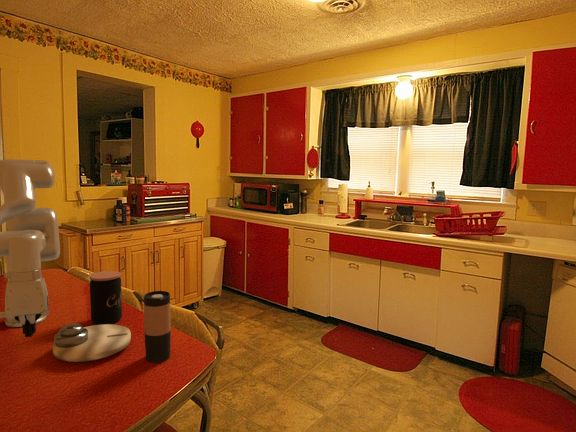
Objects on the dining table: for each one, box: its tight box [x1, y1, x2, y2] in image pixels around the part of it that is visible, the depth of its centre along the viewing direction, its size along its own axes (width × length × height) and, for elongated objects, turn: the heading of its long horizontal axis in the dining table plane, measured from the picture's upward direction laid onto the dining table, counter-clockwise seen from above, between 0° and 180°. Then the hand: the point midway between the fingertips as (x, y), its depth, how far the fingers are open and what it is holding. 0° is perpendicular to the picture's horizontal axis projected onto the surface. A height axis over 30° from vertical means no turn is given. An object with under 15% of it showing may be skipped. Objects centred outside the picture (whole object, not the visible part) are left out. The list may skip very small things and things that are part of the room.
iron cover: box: [54, 322, 88, 348], centre depth 117 cm, size 9×9×5 cm
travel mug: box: [143, 290, 172, 364], centre depth 114 cm, size 8×8×20 cm
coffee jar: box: [89, 270, 123, 325], centre depth 141 cm, size 11×11×18 cm
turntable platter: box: [52, 324, 132, 363], centre depth 119 cm, size 22×22×2 cm
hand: (29, 335), depth 112 cm, fingers closed
